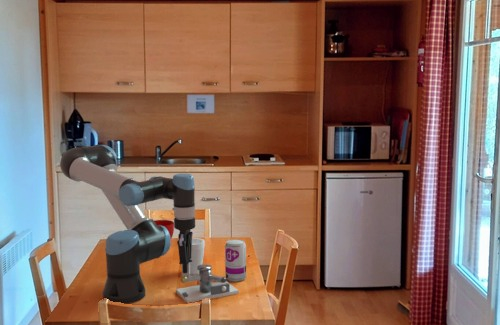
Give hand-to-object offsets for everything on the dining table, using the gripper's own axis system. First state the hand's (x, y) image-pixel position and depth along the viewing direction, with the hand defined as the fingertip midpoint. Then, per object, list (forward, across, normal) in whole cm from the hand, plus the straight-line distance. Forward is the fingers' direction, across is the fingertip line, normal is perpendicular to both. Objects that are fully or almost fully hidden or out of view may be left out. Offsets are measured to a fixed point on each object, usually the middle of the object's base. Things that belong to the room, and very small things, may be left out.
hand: (186, 280), depth 206 cm
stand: (+6, -3, +7) cm, 10 cm away
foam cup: (+6, -25, -4) cm, 26 cm away
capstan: (+4, -1, +5) cm, 7 cm away
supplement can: (+6, -20, +15) cm, 26 cm away
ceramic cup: (+7, -62, -29) cm, 69 cm away
